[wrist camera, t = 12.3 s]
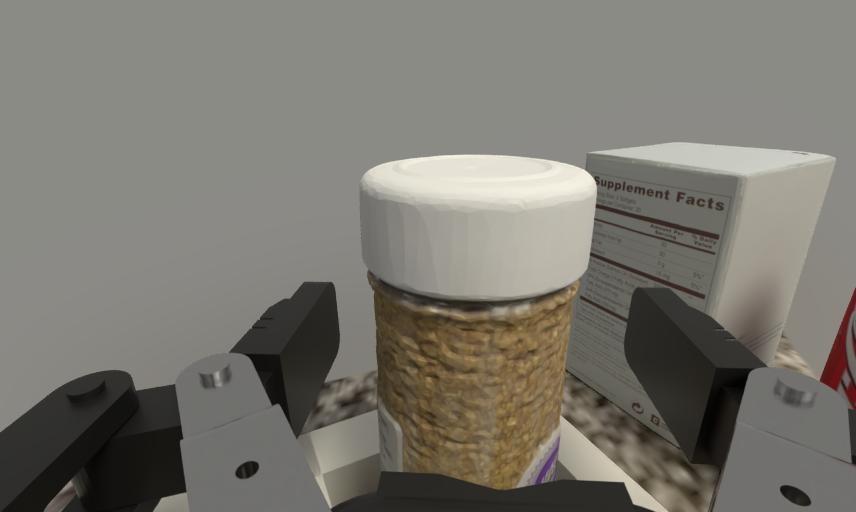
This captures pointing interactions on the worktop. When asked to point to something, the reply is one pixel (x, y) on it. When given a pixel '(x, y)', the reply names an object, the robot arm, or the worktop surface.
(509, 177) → the sprinkles bottle
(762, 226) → the supplement box
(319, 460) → the divided compartment tray
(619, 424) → the worktop surface
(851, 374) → the soda can
